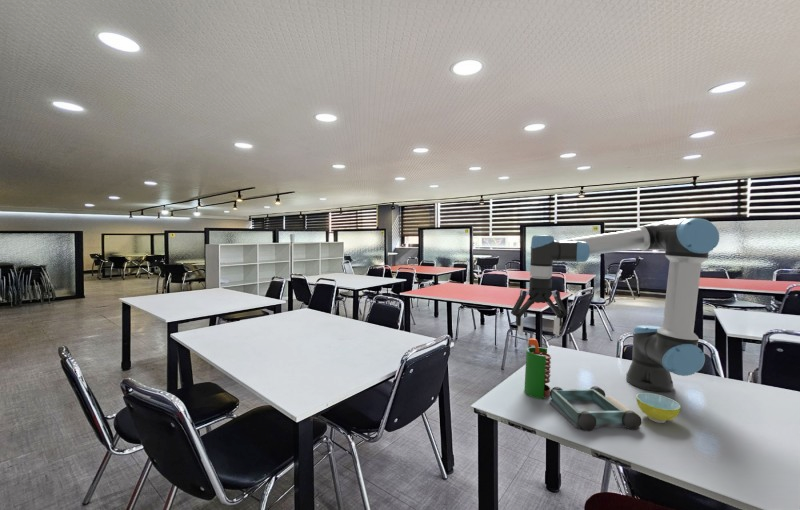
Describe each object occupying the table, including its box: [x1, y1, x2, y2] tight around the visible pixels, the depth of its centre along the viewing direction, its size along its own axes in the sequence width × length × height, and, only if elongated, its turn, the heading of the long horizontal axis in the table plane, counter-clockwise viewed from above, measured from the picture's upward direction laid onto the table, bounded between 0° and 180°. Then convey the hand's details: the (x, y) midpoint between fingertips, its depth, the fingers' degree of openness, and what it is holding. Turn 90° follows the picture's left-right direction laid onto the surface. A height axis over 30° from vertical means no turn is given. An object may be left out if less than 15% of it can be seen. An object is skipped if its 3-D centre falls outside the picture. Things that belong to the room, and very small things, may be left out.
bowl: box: [635, 392, 681, 424], centre depth 111 cm, size 11×12×6 cm
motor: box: [524, 337, 552, 400], centre depth 129 cm, size 10×9×20 cm
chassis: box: [549, 385, 642, 432], centre depth 114 cm, size 20×19×5 cm
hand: (538, 334), depth 128 cm, fingers open, 13 cm apart
